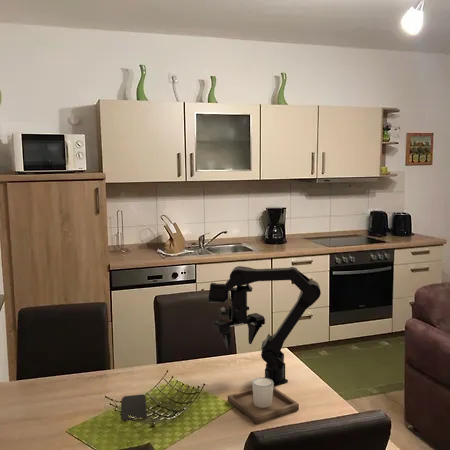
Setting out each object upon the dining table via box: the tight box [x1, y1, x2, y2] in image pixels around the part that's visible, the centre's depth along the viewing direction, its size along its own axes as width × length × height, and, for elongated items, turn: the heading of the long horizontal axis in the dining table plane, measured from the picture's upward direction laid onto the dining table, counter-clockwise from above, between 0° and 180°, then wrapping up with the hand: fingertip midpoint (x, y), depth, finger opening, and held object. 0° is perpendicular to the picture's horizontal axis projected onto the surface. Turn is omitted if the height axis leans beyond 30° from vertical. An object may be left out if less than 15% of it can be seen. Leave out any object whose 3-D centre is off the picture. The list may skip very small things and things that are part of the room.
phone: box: [121, 394, 147, 422], centre depth 149 cm, size 7×1×15 cm
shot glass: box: [251, 377, 275, 408], centre depth 149 cm, size 7×7×7 cm
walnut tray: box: [227, 386, 300, 425], centre depth 150 cm, size 16×16×2 cm
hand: (239, 346), depth 168 cm, fingers open, 9 cm apart
